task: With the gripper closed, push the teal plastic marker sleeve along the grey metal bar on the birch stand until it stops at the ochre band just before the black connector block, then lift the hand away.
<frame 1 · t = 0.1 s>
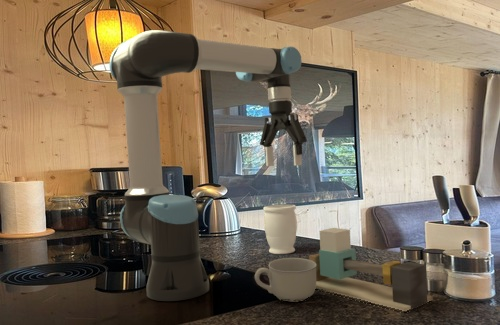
hand: (283, 165, 155), 28 cm above the countertop, fingers open, 13 cm apart
jar: (282, 252, 154), on the countertop
teacup: (287, 299, 105), on the countertop
rail: (363, 293, 106), on the countertop
sleeve: (337, 252, 111), point 8 cm above the countertop, slide at 0.0 cm
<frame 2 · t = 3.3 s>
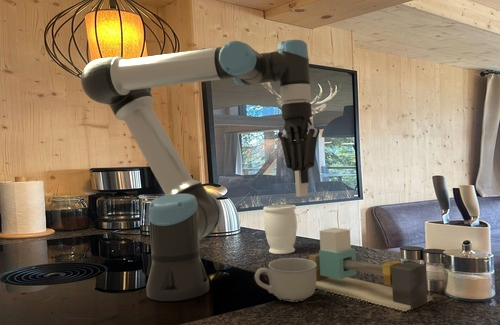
hand: (302, 196, 119), 21 cm above the countertop, fingers closed
nothing on the countertop moved.
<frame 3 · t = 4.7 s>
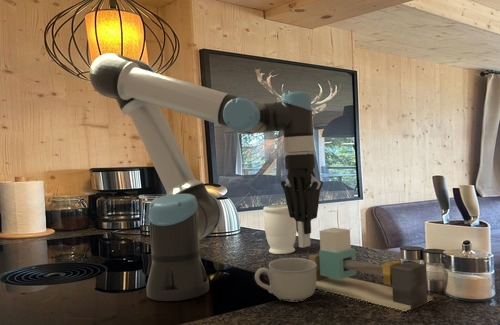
hand: (304, 246, 119), 8 cm above the countertop, fingers closed
nothing on the countertop moved.
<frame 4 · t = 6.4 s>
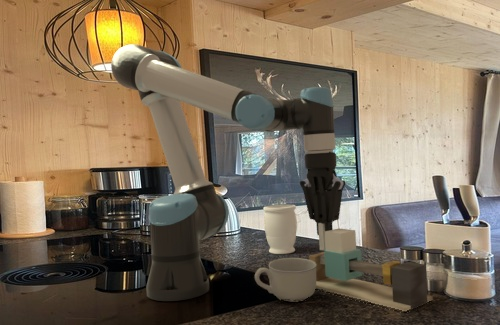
hand: (325, 249, 114), 9 cm above the countertop, fingers closed
sleeve: (342, 253, 110), point 8 cm above the countertop, slide at 1.7 cm, touching gripper
everything else where it was.
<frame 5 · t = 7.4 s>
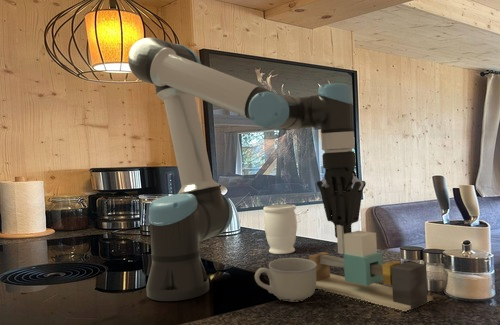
hand: (344, 252, 109), 9 cm above the countertop, fingers closed
sleeve: (362, 256, 105), point 8 cm above the countertop, slide at 7.5 cm, touching gripper
everything else where it was.
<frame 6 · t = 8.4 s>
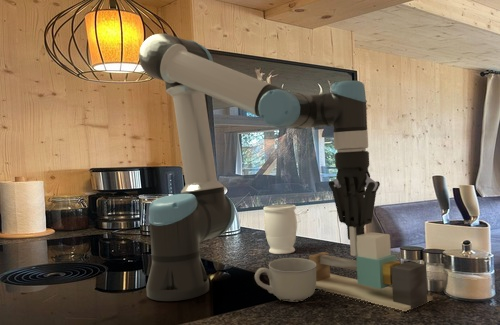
hand: (357, 254, 106), 9 cm above the countertop, fingers closed
sleeve: (376, 259, 102), point 8 cm above the countertop, slide at 11.1 cm, touching gripper, rail
everything else where it was.
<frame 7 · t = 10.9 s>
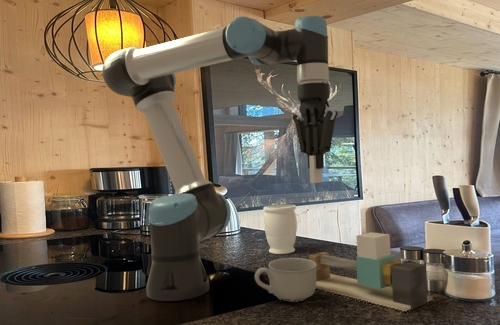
hand: (316, 182, 113), 25 cm above the countertop, fingers closed
sleeve: (376, 259, 102), point 8 cm above the countertop, slide at 11.0 cm
everything else where it was.
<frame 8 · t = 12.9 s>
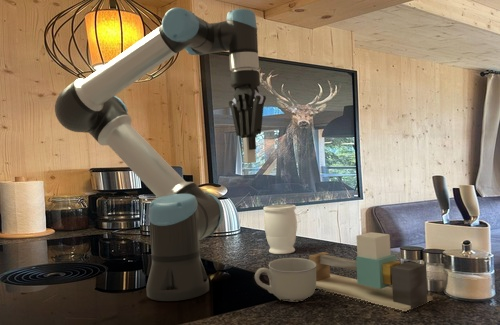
hand: (250, 162, 122), 30 cm above the countertop, fingers closed
nothing on the countertop moved.
at the end: sleeve slide at 11.0 cm; the gripper is holding nothing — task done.
